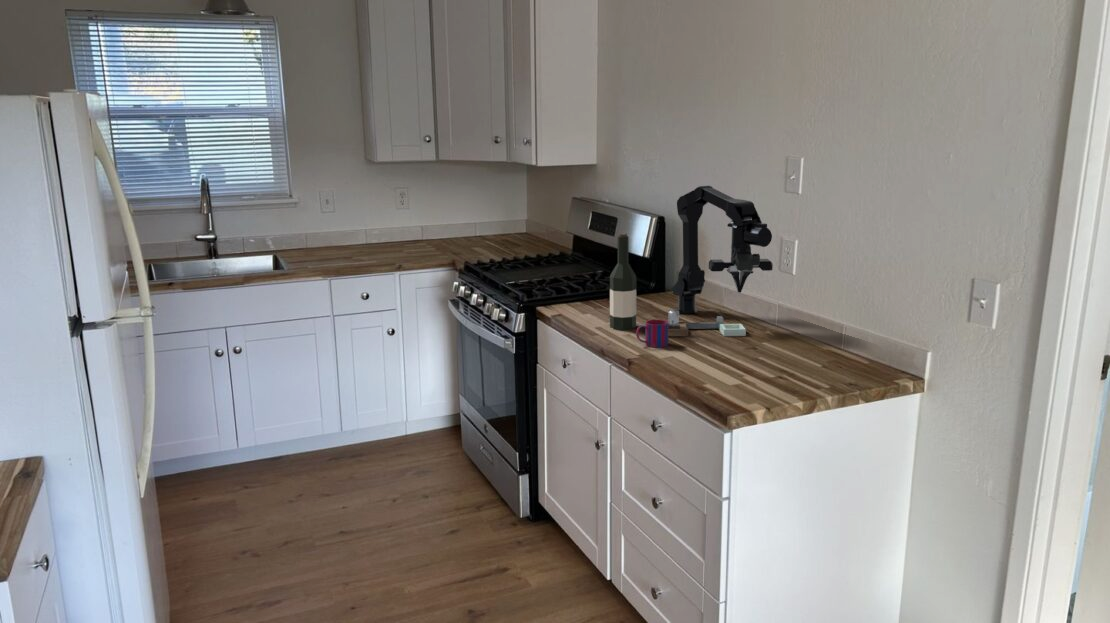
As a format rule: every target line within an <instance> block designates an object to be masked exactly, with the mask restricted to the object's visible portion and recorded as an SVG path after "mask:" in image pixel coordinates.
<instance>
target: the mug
mask: <svg viewBox="0 0 1110 623" xmlns="http://www.w3.org/2000/svg"><path fill="white" fill-rule="evenodd" d="M636 328H637V329H636V331H635V332H636V334H635V335H636V338H637V340H638V341H640V342H641V343H645V345H646V346H647V347H650V348H664V347H667V346H668V345H669V336H668V331H669V322H668V320H666V319H665V320H664V319H657V318H656V319H649V320H646V321H645V324H644V325H639V326H638V327H636ZM642 328H645V340H644V339H643V340H642V338H641V337H640V329H642Z"/></svg>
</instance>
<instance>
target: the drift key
mask: <svg viewBox="0 0 1110 623" xmlns="http://www.w3.org/2000/svg"><path fill="white" fill-rule="evenodd" d="M684 324H685V325H686V327H687V329H688V330H692V329H693V330H695V329H696V330H697V329H699V330H701V329H703V330H704V329H706V330H707V329H708V330H710V329H712V330H713V329H718V330H720V324H724V317H723V315H720V316H718V315H716V322H714V321H713V322H712V321H711V322H710V321H709V322H705V321H704V322H703V321H702V322H684Z"/></svg>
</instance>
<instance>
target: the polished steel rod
mask: <svg viewBox="0 0 1110 623" xmlns="http://www.w3.org/2000/svg"><path fill="white" fill-rule="evenodd" d="M667 314H668V315H667V316H668V319H667V321H668V322H669V329H679V321H680V314H679V311H677V310H676V309H671V310H668V313H667Z"/></svg>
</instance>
